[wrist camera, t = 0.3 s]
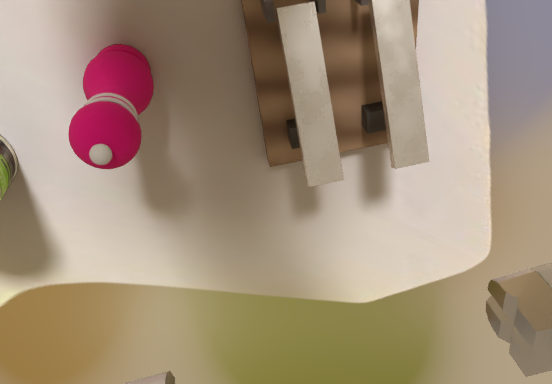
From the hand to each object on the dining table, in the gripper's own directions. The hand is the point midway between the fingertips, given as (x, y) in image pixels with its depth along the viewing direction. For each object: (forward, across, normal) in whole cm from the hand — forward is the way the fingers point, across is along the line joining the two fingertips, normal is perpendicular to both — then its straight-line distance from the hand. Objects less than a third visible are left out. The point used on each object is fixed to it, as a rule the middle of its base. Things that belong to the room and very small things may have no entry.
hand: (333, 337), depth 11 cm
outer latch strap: (+38, -17, +13) cm, 44 cm away
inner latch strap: (+38, -7, +12) cm, 41 cm away
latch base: (+47, -12, +14) cm, 50 cm away
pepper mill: (+47, +13, +7) cm, 49 cm away
